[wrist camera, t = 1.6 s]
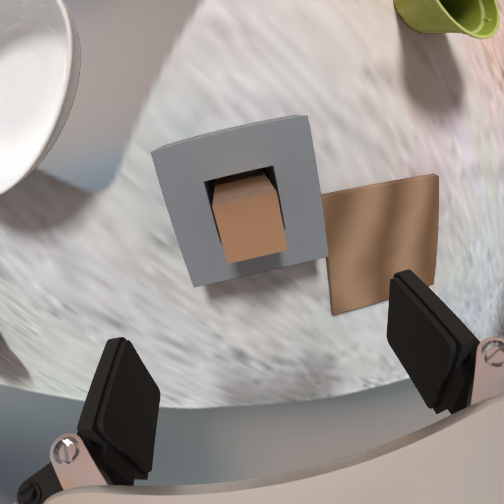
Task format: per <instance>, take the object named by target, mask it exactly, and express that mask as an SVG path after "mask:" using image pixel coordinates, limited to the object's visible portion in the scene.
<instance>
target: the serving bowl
mask: <svg viewBox="0 0 504 504" xmlns="http://www.w3.org/2000/svg"><path fill="white" fill-rule="evenodd" d="M80 65H81V48H80V39H79V34H78V30H77V26H76V23H75V20H74V18H73V15H72V13H71V11H70V10H69V8H68V6H67V5H66V4H65V2H64V1H63V0H0V195H2V194H4V193H5V192H7V191H9V190H10V189H12V188H13V187H15V186H16V185H17V184H18V183H20V182H21V181H22V180H23V179H25V178H26V177H27V176H28V175H29V174H30V173H31V172H32V171H33V170H34V169H35V168H36V167H37V166H38V165H39V164H40V162H41V161H42V160H43V159H44V158H45V156H46V155H47V154H48V152H49V151H50V150H51V148H52V147H53V145H54V143H55V142H56V140H57V138H58V137H59V135H60V133H61V131H62V129H63V127H64V125H65V123H66V120H67V118H68V116H69V113H70V110H71V108H72V105H73V101H74V98H75V94H76V90H77V86H78V81H79V74H80Z"/></svg>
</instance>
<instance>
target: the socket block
mask: <svg viewBox="0 0 504 504" xmlns="http://www.w3.org/2000/svg"><path fill="white" fill-rule="evenodd" d="M151 155H152V158H153V162H154V166H155V169H156V172H157V176H158V179H159V183H160V186H161V189H162V193H163V196H164V199H165V202H166V206H167V209H168V212H169V215H170V218H171V222H172V225H173V228H174V231H175V234H176V237H177V240H178V243H179V246H180V249H181V252H182V255H183V258H184V261H185V264H186V266H187V269H188V272H189V275H190V278H191V281H192V283H193V286H194V287H198V286H203V285H207V284H212V283H216V282H221V281H225V280H230V279H234V278H239V277H243V276H248V275H252V274H256V273H261V272H265V271H269V270H274V269H278V268H282V267H286V266H291V265H295V264H299V263H303V262H308V261H312V260H316V259H320V258H324V257H328V256H329V255H328V246H327V237H326V229H325V221H324V214H323V206H322V199H321V192H320V185H319V179H318V172H317V166H316V160H315V154H314V148H313V142H312V137H311V131H310V126H309V121H308V116H299V115H293V116H287V117H281V118H276V119H270V120H265V121H260V122H255V123H250V124H245V125H241V126H236V127H232V128H228V129H223V130H219V131H215V132H211V133H207V134H203V135H199V136H196V137H192V138H188V139H185V140H181V141H177V142H174V143H171V144H167V145H164V146H162V147H160V148H158V149H156V150H154V151H152V152H151ZM264 167H267V168H268V173H269V177H270V182H271V184H272V186H273V187H274V189H275V190H276V192H277V196H278V201H279V206H280V212H281V217H282V222H283V227H284V233H285V238H286V244H287V249H288V250H286V251H282V252H277V253H273V254H269V255H264V256H260V257H256V258H251V259H247V260H243V261H238V262H234V263H230V264H228V262H227V259H226V255H225V251H224V248H223V244H222V241H221V237H220V233H219V230H218V226H217V222H216V219H215V215H214V211H213V208H212V205H213V197H214V195H213V191H212V187H211V183H210V180H212V179H216V178H220V177H224V176H228V175H233V174H237V173H241V172H246V171H250V170H255V169H259V168H264Z"/></svg>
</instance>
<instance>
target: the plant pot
mask: <svg viewBox="0 0 504 504" xmlns="http://www.w3.org/2000/svg"><path fill="white" fill-rule="evenodd" d="M394 4H395V8H396V10H397V12H398V13H399V14H400V15H401V16H402V18H403V19H404V21H405V22H406V24H407V25H408V26H410V27H411V28H412V29H414V30H416V31H418V32H421V33H463V34H466V35H469V36H471V37H474V38H478V39H488V38H491V37H493V36H494V35H495V34H496V32H497V31H498V28H499V23H500V15H499V9H498V5H497V2H496V0H394Z"/></svg>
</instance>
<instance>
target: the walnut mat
mask: <svg viewBox="0 0 504 504" xmlns="http://www.w3.org/2000/svg"><path fill="white" fill-rule="evenodd" d="M321 199H322V206H323V214H324V221H325V229H326V237H327V246H328V255H329V256H328V257H326V261H327V271H328V280H329V291H330V302H331V311H332V313H333V315H335V314H339V313H343V312H346V311H350V310H353V309H357V308H360V307H364V306H367V305H370V304H374V303H377V302H380V301H384V300H387V299H389V287H390V279H392V278H393V276H394V274H395V273H397V272H401V271H404V270H407V269H410V270H411V271H412V272H413V273H414V274H415V275H417V276H418V277H419V278H420V279H421V280H422V281H423V282H424V283H425V284H426V285H427V286H430V285H433V284H434V277H435V267H436V256H437V242H438V220H439V176H438V175H435V174H429V175H423V176H417V177H412V178H406V179H400V180H394V181H389V182H383V183H378V184H373V185H367V186H362V187H357V188H352V189H347V190H341V191H336V192H331V193H327V194H322V195H321Z"/></svg>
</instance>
